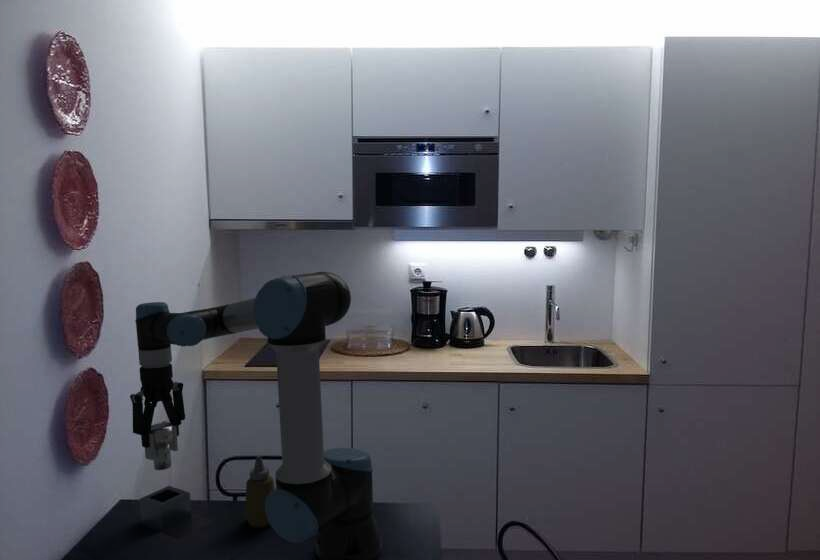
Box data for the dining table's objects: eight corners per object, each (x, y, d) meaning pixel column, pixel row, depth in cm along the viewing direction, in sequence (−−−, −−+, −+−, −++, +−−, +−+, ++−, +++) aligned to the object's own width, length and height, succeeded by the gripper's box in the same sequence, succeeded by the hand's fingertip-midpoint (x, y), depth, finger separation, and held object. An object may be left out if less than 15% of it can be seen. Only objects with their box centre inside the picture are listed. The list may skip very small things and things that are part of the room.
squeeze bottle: (270, 535, 146) (266, 463, 144) (239, 532, 147) (235, 461, 145) (283, 518, 153) (280, 450, 152) (254, 516, 155) (251, 449, 153)
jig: (213, 525, 151) (211, 497, 150) (179, 543, 143) (177, 514, 142) (173, 510, 160) (171, 484, 159) (139, 527, 151) (136, 499, 150)
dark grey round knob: (180, 465, 153) (177, 425, 152) (159, 473, 148) (156, 432, 147) (165, 460, 156) (162, 421, 155) (144, 468, 151) (141, 428, 150)
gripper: (178, 355, 159) (184, 439, 161) (110, 371, 143) (118, 464, 145) (197, 358, 155) (202, 444, 157) (129, 375, 139) (136, 470, 141)
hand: (161, 454), depth 151 cm, fingers closed on dark grey round knob, 6 cm apart
